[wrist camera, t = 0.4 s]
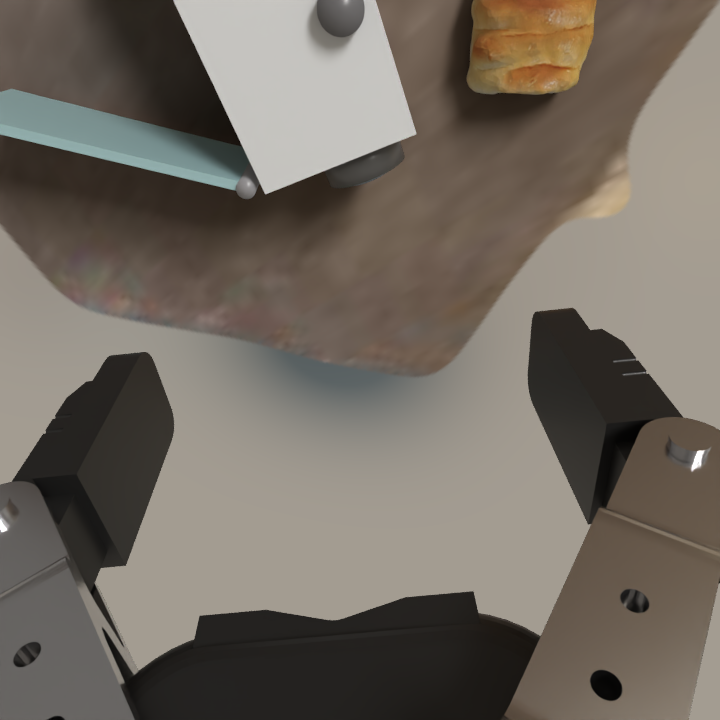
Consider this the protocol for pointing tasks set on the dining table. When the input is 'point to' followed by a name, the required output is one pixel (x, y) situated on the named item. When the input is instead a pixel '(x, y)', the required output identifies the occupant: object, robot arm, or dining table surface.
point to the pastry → (529, 45)
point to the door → (126, 141)
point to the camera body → (304, 86)
